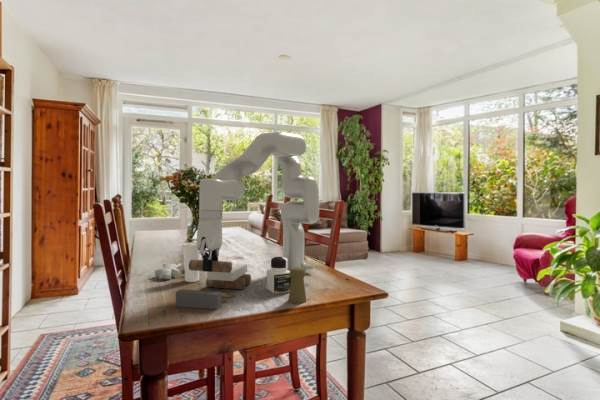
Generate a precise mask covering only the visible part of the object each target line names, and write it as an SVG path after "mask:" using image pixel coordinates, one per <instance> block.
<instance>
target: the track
mask: <svg viewBox="0 0 600 400" xmlns="http://www.w3.org/2000/svg"><path fill="white" fill-rule="evenodd" d="M251 282H252V275H251V274H250V273H249V274H247V273H245V274H243V275H242V276H240V277H239V278H237V279H236V280H234V281H223V280H208V279H207V278H206V280H205V285H206V288H219V289H230V290H232V289H233V290H244V289H245V287H246V286H250V284H251ZM224 297H225V298H224ZM234 297H235V293H230V292H229V293H228V292H222V303H228V300H229V299H228V298H234Z"/></svg>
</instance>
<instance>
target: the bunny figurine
mask: <svg viewBox="0 0 600 400" xmlns="http://www.w3.org/2000/svg"><path fill="white" fill-rule="evenodd" d="M182 267H183V265H182V263H163V264H162V267H160V268H158V269H155V271H154V276H155V277H158V278H159V279H158V280H172V278H173V277H177V276H180V269H179V268H182Z"/></svg>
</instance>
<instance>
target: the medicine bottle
mask: <svg viewBox="0 0 600 400" xmlns="http://www.w3.org/2000/svg"><path fill="white" fill-rule="evenodd" d="M287 269H288V259H287V258H285V257H283V256H275V257H272V258H271V259H270V269H267V270H266V290H268V291H270V292H271V293H272V294H274V295H276V294H282V293H289V292H290V285H291V276H290V271H288V270H287Z"/></svg>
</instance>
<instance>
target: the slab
mask: <svg viewBox="0 0 600 400" xmlns="http://www.w3.org/2000/svg"><path fill="white" fill-rule="evenodd" d="M247 272H248V264H246V263H232V270H231V272H230V273H225V272H206V274H207V275H206V279H208V280H223V281H234V280H236V279H237V278H239V277H240V276H242V275H243V274H247Z"/></svg>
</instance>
